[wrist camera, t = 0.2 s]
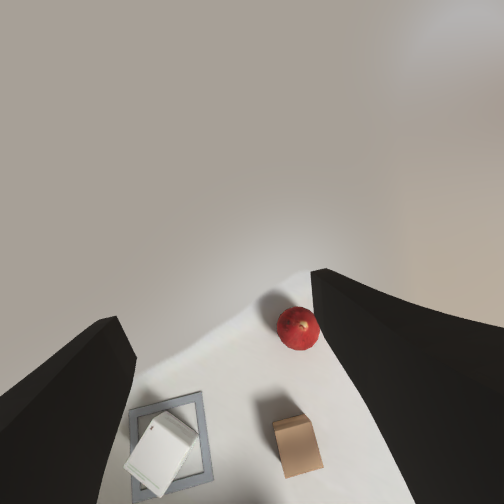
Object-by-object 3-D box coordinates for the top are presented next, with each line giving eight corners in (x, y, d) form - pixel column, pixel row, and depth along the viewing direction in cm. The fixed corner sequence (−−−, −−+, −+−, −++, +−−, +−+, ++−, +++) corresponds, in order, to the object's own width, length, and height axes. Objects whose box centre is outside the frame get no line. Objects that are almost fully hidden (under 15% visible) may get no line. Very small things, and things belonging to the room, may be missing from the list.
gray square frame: (213, 479, 32) (213, 480, 31) (133, 503, 31) (132, 503, 31) (201, 391, 35) (201, 391, 35) (129, 410, 35) (128, 410, 34)
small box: (139, 452, 33) (120, 467, 28) (166, 408, 35) (153, 416, 30) (174, 481, 32) (160, 501, 27) (200, 434, 34) (191, 446, 29)
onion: (269, 341, 38) (273, 338, 30) (282, 305, 40) (288, 294, 32) (306, 357, 37) (320, 357, 30) (317, 319, 39) (332, 311, 32)
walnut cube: (314, 453, 33) (323, 467, 28) (281, 462, 32) (285, 478, 28) (304, 413, 34) (311, 421, 30) (272, 422, 34) (274, 431, 30)
